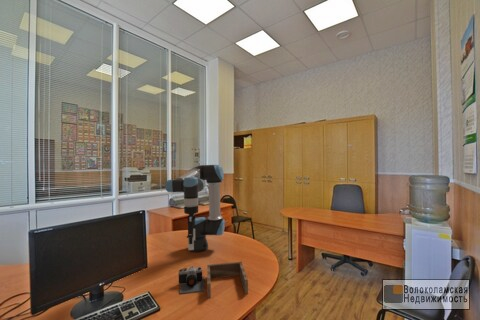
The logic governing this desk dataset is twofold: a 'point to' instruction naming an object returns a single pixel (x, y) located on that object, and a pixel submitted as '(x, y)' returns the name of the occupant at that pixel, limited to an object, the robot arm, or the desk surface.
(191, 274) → the camera
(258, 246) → the desk surface
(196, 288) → the mat
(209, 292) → the cubby
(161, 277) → the desk surface
